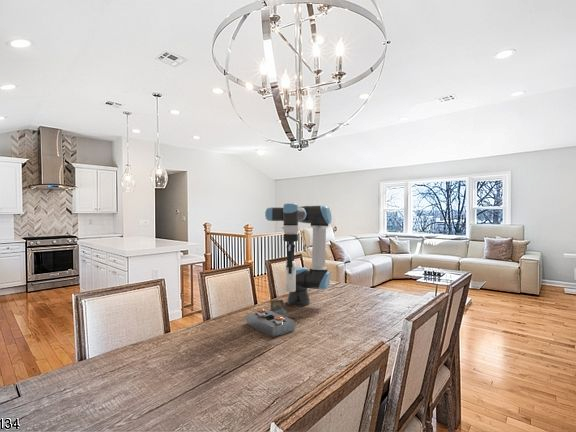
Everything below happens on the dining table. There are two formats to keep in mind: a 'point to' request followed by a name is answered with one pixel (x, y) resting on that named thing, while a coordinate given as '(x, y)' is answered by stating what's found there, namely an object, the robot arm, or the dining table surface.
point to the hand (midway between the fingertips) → (290, 278)
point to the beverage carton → (279, 307)
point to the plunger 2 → (278, 319)
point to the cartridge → (291, 283)
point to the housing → (270, 323)
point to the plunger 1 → (261, 311)
